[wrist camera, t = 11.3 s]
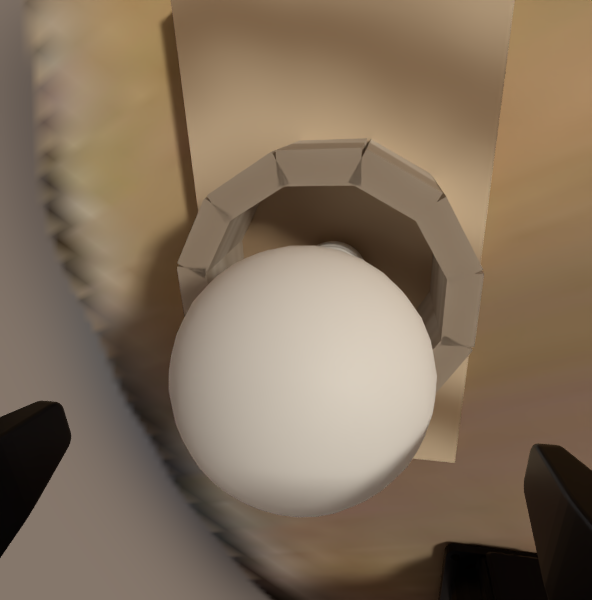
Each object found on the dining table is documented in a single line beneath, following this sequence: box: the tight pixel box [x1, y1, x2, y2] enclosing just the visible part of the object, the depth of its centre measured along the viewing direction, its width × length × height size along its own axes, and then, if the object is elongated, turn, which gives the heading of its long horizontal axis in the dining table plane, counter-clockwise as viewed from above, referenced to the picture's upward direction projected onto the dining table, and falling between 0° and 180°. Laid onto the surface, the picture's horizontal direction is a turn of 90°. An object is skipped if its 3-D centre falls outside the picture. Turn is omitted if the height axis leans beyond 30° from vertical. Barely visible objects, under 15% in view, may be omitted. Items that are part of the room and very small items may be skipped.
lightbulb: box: [169, 241, 437, 517], centre depth 13 cm, size 6×6×11 cm
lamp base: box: [171, 0, 515, 463], centre depth 16 cm, size 19×11×5 cm, turn 2°
